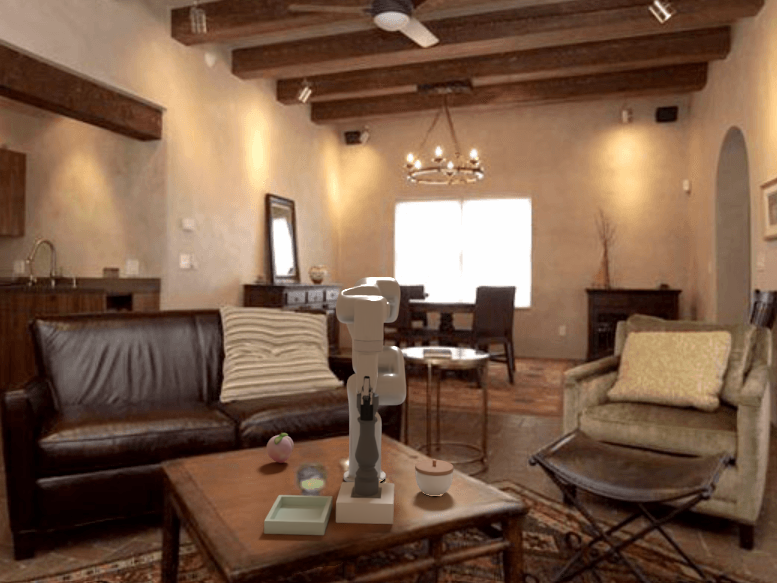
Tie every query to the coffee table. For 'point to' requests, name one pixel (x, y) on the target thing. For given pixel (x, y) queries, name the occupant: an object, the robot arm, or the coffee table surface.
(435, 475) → the lidded jar
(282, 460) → the decorative fruit
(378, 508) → the socket block
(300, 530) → the parts tray
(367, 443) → the candle holder
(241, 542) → the coffee table surface
